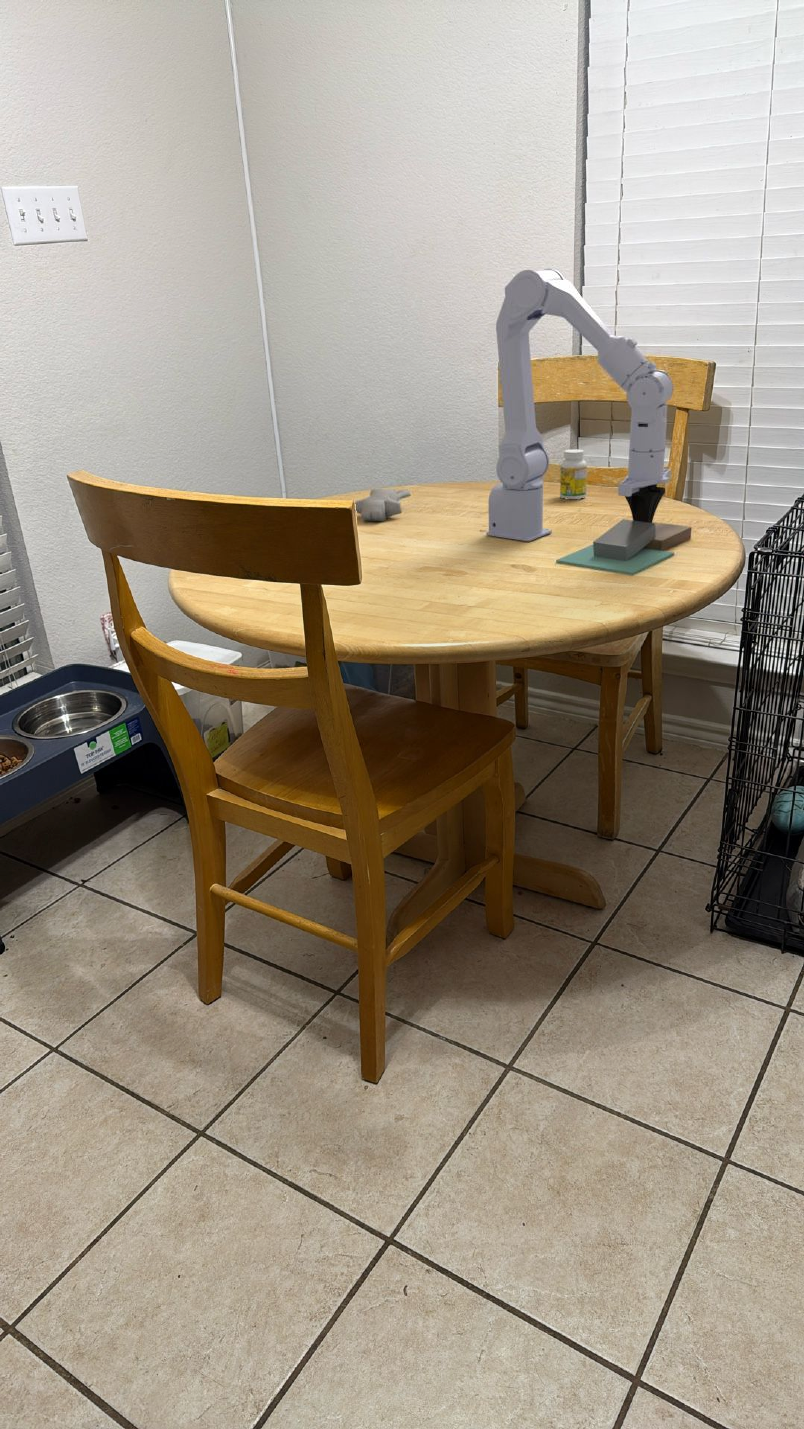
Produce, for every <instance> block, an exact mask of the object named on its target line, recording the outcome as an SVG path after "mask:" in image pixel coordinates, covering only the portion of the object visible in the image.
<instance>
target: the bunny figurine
mask: <svg viewBox="0 0 804 1429" xmlns="http://www.w3.org/2000/svg"><path fill="white" fill-rule="evenodd" d="M396 490H397V489H392V488H391V489H390V488H373V489H371V490H370V492H369V493H370V494H369V496H367V497H364V498H362V499H359V500H357V501H356V500H355V502H354V505H355V504H356V510H355V512H356V511H357V513H356V514H360V515H361V520H362V521H364V522H386V521H387V518H388V517H390V516H391V517H392V516H395V515H396V516H397V515H399V514H400V515H401V514H402V505H401V504H402V503H401V502H400V500H403V499H405V498H409V497H410V496H411V493H410V491H409V489H407V488H406V489H400V490H398V491H396Z"/></svg>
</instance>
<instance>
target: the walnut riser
mask: <svg viewBox="0 0 804 1429" xmlns="http://www.w3.org/2000/svg"><path fill="white" fill-rule="evenodd" d="M652 523H655V534H656V538H654V539H653V540H652V541H651V542H649V543H648V544H647V545H646V546H645V547H643V548H647V549H654V550H661V551H668V550H669V549H671V548H673V547H676V546H677V545H679V544H681V543H684V542H686V541H688V540H690V539H692V538H691V537H692V526H687V525H682V524H681V525H679V524H672V523H663V522H657V521H652Z"/></svg>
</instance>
